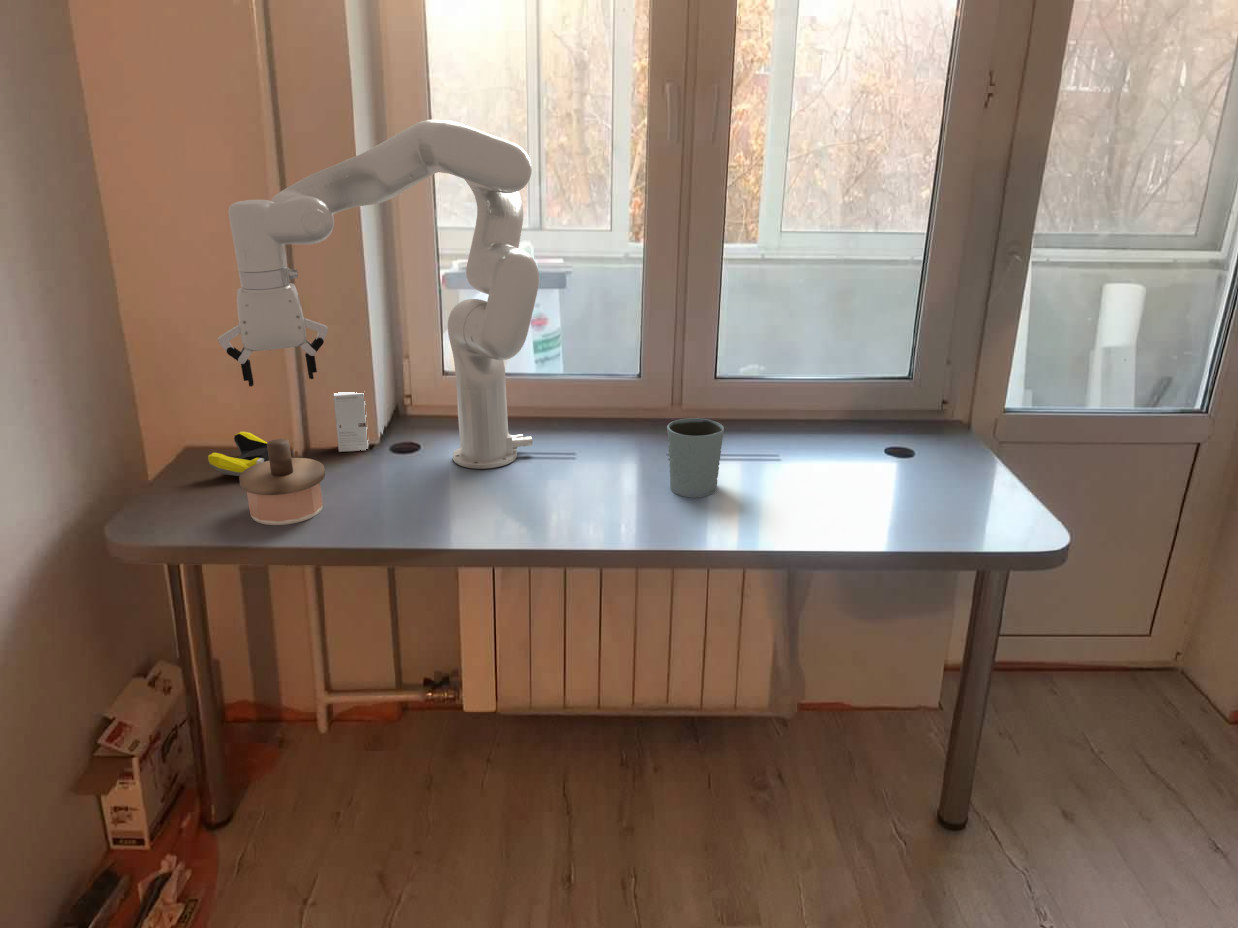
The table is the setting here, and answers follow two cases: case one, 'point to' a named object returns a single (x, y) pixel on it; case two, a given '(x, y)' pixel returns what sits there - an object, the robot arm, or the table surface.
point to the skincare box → (350, 421)
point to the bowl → (286, 506)
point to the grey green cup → (694, 456)
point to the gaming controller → (250, 452)
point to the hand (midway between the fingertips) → (281, 380)
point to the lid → (281, 472)
